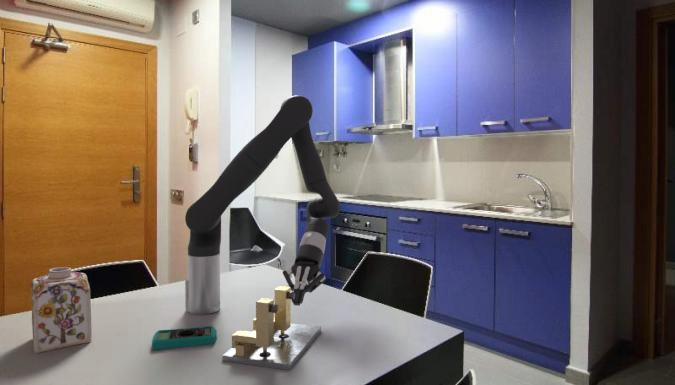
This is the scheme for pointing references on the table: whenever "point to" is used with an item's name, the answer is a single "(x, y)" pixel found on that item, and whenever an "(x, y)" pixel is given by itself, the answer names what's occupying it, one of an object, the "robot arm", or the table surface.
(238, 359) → the flange plate
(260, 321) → the tan block assembly
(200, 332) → the digital multimeter
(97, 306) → the table surface
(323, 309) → the table surface
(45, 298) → the decorative jar
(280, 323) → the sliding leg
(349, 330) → the table surface
